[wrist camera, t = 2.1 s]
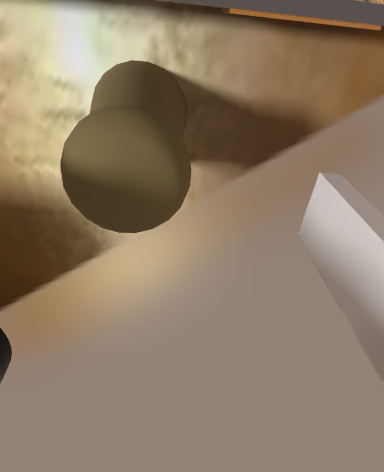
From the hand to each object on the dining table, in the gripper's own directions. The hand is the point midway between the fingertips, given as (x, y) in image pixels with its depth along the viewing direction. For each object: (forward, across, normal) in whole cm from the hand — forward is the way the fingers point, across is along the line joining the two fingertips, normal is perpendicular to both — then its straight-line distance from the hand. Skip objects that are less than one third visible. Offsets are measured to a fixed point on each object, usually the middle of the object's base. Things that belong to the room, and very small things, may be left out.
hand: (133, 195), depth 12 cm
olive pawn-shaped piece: (+12, 0, 0) cm, 12 cm away
